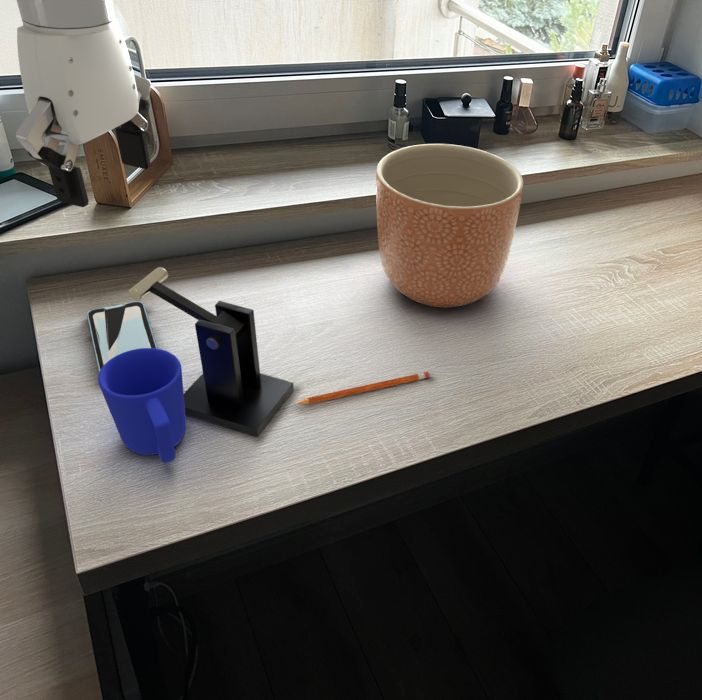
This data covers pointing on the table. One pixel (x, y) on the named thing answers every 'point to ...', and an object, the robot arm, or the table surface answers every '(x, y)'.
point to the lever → (180, 300)
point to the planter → (445, 221)
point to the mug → (146, 400)
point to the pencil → (364, 388)
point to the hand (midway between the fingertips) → (106, 183)
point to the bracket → (233, 377)
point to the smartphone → (119, 330)
